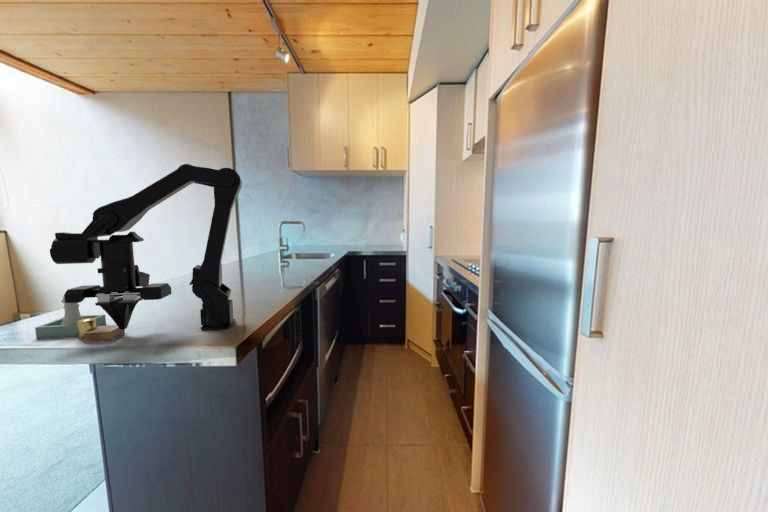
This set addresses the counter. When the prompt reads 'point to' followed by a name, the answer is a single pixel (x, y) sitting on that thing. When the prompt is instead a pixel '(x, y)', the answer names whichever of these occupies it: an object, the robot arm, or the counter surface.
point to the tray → (64, 327)
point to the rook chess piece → (71, 313)
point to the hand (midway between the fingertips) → (123, 328)
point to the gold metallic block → (85, 326)
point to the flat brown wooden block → (103, 333)
